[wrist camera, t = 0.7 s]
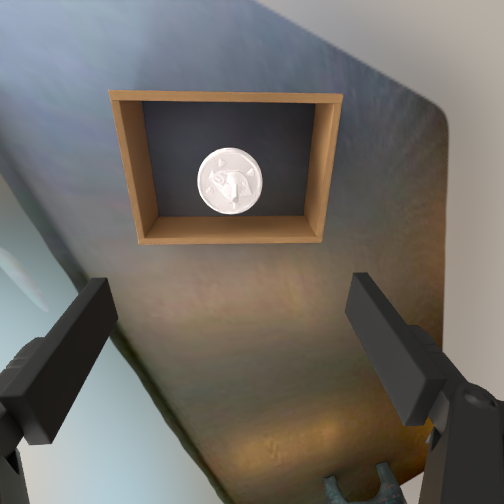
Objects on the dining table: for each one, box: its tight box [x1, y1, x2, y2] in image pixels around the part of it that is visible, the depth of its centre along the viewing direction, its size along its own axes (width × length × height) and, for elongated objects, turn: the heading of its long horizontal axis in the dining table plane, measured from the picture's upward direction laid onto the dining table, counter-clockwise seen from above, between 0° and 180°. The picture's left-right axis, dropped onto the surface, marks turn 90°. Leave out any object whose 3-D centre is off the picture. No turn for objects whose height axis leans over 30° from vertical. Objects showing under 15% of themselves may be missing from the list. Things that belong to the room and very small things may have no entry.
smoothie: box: [198, 148, 262, 214], centre depth 29 cm, size 6×6×14 cm
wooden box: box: [108, 90, 343, 245], centre depth 33 cm, size 16×22×7 cm
